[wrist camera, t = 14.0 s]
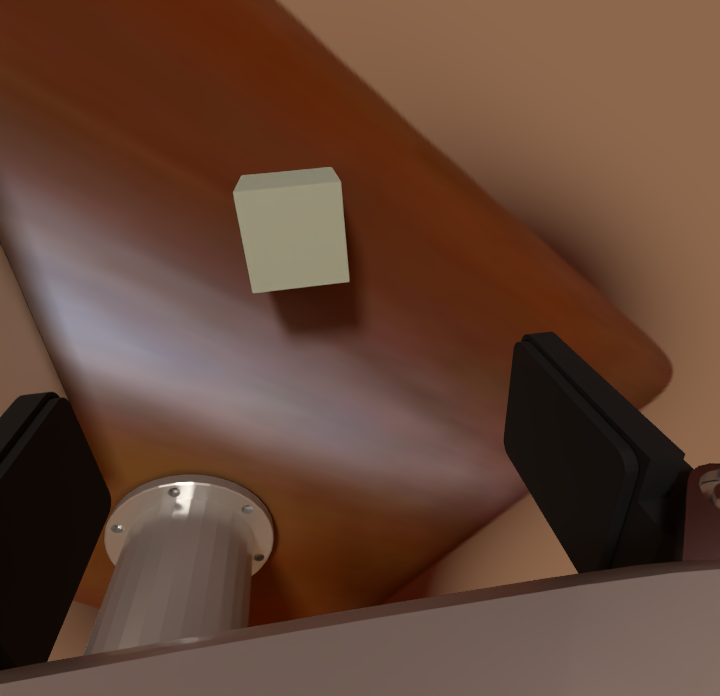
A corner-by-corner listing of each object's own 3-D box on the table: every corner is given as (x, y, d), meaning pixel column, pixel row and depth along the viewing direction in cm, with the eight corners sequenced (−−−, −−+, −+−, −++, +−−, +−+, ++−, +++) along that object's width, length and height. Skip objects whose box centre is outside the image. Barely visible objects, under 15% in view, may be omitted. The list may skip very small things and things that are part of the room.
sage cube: (339, 253, 29) (349, 281, 25) (257, 262, 29) (252, 293, 24) (331, 166, 27) (340, 181, 22) (241, 175, 26) (232, 192, 22)
